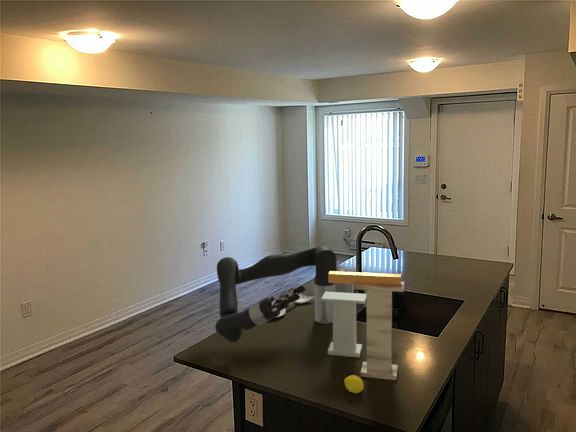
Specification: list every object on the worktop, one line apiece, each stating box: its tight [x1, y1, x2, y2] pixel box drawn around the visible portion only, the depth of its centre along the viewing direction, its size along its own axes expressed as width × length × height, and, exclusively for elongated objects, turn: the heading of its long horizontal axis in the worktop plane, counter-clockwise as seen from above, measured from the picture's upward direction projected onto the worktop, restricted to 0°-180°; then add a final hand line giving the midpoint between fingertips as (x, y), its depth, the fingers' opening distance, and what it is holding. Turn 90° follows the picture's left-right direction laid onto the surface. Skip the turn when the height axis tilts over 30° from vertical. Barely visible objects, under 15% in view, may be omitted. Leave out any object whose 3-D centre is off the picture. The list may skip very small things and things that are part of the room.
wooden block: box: [328, 270, 402, 286], centre depth 161 cm, size 3×24×3 cm, turn 75°
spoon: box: [275, 293, 315, 318], centre depth 228 cm, size 9×32×4 cm, turn 142°
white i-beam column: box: [321, 292, 367, 358], centre depth 180 cm, size 8×16×22 cm, turn 75°
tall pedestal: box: [353, 280, 405, 381], centre depth 163 cm, size 8×16×32 cm, turn 75°
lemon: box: [343, 374, 364, 394], centre depth 153 cm, size 7×5×5 cm
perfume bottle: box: [335, 268, 353, 293], centre depth 229 cm, size 7×7×18 cm
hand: (301, 291), depth 168 cm, fingers open, 8 cm apart
